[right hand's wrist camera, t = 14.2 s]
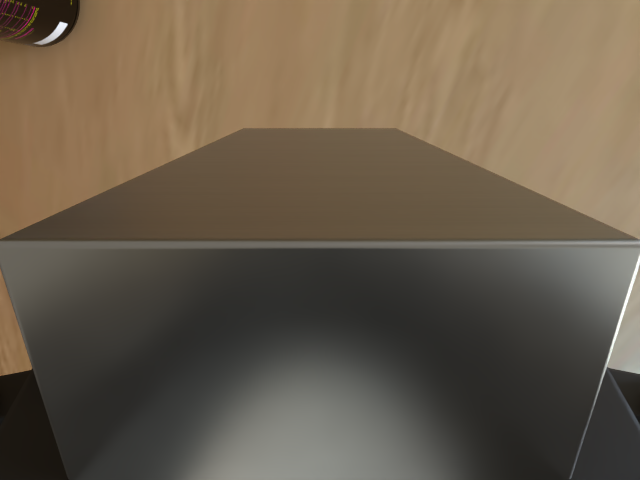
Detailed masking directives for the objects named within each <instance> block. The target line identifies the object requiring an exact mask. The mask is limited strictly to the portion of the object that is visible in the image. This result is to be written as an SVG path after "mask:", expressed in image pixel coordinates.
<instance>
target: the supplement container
mask: <svg viewBox="0 0 640 480" xmlns="http://www.w3.org/2000/svg"><path fill="white" fill-rule="evenodd" d="M79 10H80V0H0V40H1V41H6V42H12V43H18V44H23V45H29V46H35V47H46V46H51V45H54V44H57V43H58V42H60V41H62V40H63V39H65V38H66V37H67V36H68V35H69V34H70V33H71V32H72V30H73V29H74V27H75V25H76V23H77V20H78V16H79Z"/></svg>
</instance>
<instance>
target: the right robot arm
mask: <svg viewBox="0 0 640 480" xmlns="http://www.w3.org/2000/svg"><path fill="white" fill-rule="evenodd" d="M0 480H69V479H68V477H67V474H66V471H65V468H64V464H63V461H62V458H61V455H60V452H59V449H58V446H57V443H56V439H55V436H54V433H53V430H52V427H51V424H50V421H49V418H48V415H47V411H46V408H45V405H44V402H43V399H42V396H41V393H40V390H39V386H38V383H37V380H36V377H35V374H34V371H33V368H32V370H29V371H24V372H19V373H14V374H9V375H4V376H0ZM569 480H640V374H636V373H631V372H625V371H620V370H615V369H610V368H608V367H607V368H606V371H605V374H604V377H603V380H602V383H601V387H600V390H599V393H598V396H597V399H596V402H595V405H594V408H593V412H592V415H591V418H590V421H589V424H588V427H587V430H586V433H585V437H584V440H583V443H582V446H581V449H580V452H579V455H578V458H577V462H576V465H575V468H574V471H573V474H572V477H571V479H569Z"/></svg>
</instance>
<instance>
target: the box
mask: <svg viewBox="0 0 640 480" xmlns="http://www.w3.org/2000/svg"><path fill="white" fill-rule="evenodd" d="M639 265H640V240H639V239H637V238H635V237H633V236H630V235H628V234H626V233H624V232H622V231H619V230H617V229H615V228H613V227H611V226H608V225H606V224H604V223H602V222H600V221H598V220H595V219H593V218H591V217H589V216H587V215H584V214H582V213H580V212H578V211H576V210H573V209H571V208H569V207H567V206H565V205H563V204H560V203H558V202H556V201H554V200H552V199H549V198H547V197H545V196H543V195H541V194H538V193H536V192H534V191H532V190H530V189H527V188H525V187H523V186H521V185H519V184H517V183H514V182H512V181H510V180H508V179H506V178H503V177H501V176H499V175H497V174H495V173H492V172H490V171H488V170H486V169H484V168H481V167H479V166H477V165H475V164H473V163H471V162H468V161H466V160H464V159H462V158H460V157H457V156H455V155H453V154H451V153H449V152H446V151H444V150H442V149H440V148H438V147H435V146H433V145H431V144H429V143H427V142H425V141H422V140H420V139H418V138H416V137H414V136H411V135H409V134H407V133H405V132H403V131H400V130H398V129H396V128H243V129H241V130H239V131H237V132H235V133H232V134H230V135H228V136H226V137H224V138H221V139H219V140H217V141H215V142H213V143H210V144H208V145H206V146H204V147H202V148H200V149H197V150H195V151H193V152H191V153H189V154H186V155H184V156H182V157H180V158H178V159H175V160H173V161H171V162H169V163H167V164H164V165H162V166H160V167H158V168H156V169H153V170H151V171H149V172H147V173H145V174H142V175H140V176H138V177H136V178H134V179H131V180H129V181H127V182H125V183H123V184H121V185H118V186H116V187H114V188H112V189H110V190H107V191H105V192H103V193H101V194H99V195H96V196H94V197H92V198H90V199H88V200H85V201H83V202H81V203H79V204H77V205H74V206H72V207H70V208H68V209H66V210H63V211H61V212H59V213H57V214H55V215H53V216H50V217H48V218H46V219H44V220H42V221H39V222H37V223H35V224H33V225H31V226H28V227H26V228H24V229H22V230H20V231H17V232H15V233H13V234H11V235H9V236H6V237H4V238H2V239H0V268H1V271H2V274H3V277H4V280H5V284H6V287H7V290H8V293H9V296H10V299H11V302H12V305H13V309H14V312H15V315H16V318H17V321H18V324H19V327H20V330H21V333H22V337H23V340H24V343H25V346H26V349H27V352H28V355H29V358H30V362H31V365H32V368H33V371H34V374H35V377H36V380H37V383H38V386H39V390H40V393H41V396H42V399H43V402H44V405H45V408H46V411H47V415H48V418H49V421H50V424H51V427H52V430H53V433H54V436H55V439H56V443H57V446H58V449H59V452H60V455H61V458H62V461H63V464H64V468H65V471H66V474H67V477H68V479H69V480H569V479H571V477H572V474H573V471H574V468H575V465H576V462H577V458H578V455H579V452H580V449H581V446H582V443H583V440H584V437H585V433H586V430H587V427H588V424H589V421H590V418H591V415H592V412H593V408H594V405H595V402H596V399H597V396H598V393H599V390H600V387H601V383H602V380H603V377H604V374H605V371H606V368H607V365H608V362H609V358H610V355H611V352H612V349H613V346H614V343H615V340H616V337H617V333H618V330H619V327H620V324H621V321H622V318H623V315H624V312H625V308H626V305H627V302H628V299H629V296H630V293H631V290H632V287H633V283H634V280H635V277H636V274H637V271H638V268H639Z"/></svg>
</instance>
